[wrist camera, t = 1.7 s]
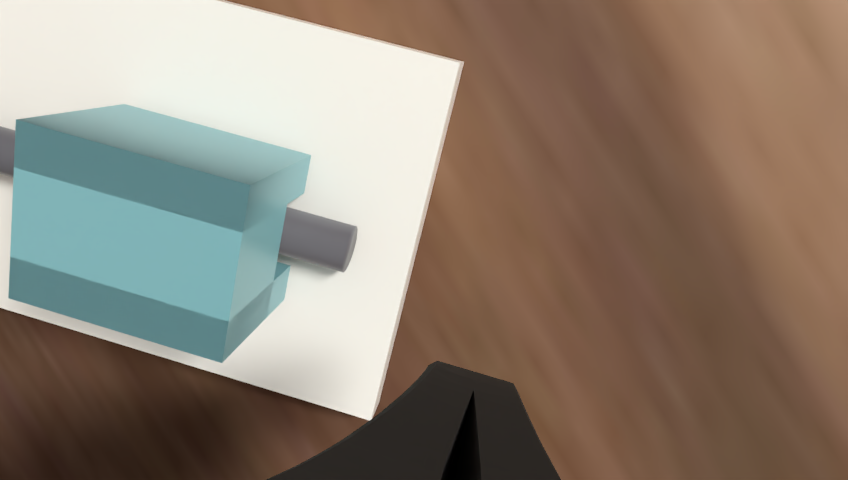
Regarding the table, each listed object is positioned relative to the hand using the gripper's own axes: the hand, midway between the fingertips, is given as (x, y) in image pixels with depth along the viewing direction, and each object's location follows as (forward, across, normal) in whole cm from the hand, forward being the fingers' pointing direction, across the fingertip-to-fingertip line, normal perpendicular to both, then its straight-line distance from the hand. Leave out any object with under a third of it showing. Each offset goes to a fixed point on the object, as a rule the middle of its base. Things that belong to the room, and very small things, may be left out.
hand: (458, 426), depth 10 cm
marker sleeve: (+7, +7, 0) cm, 10 cm away
